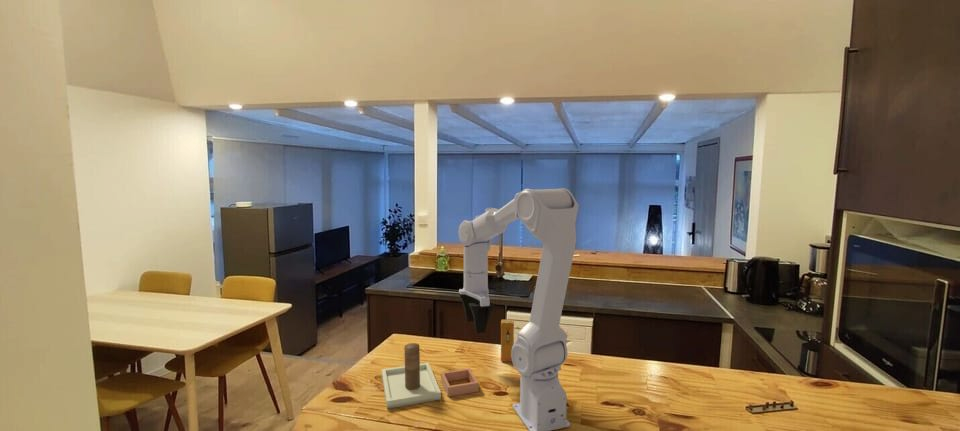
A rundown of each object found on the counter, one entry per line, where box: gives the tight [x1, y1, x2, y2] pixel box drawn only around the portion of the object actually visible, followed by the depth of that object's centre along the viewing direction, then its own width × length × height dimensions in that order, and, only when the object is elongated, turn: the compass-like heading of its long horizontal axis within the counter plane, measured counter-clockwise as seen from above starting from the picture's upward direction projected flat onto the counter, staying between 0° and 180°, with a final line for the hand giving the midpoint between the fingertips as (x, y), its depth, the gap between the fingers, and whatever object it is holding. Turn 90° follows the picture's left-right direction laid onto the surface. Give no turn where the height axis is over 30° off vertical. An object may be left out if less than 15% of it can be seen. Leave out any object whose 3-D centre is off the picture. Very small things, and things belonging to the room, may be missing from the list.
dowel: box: [403, 342, 421, 390], centre depth 88 cm, size 3×3×9 cm
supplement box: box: [500, 319, 515, 363], centre depth 102 cm, size 3×3×10 cm
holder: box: [440, 368, 480, 398], centre depth 89 cm, size 7×7×2 cm
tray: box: [381, 362, 442, 410], centre depth 89 cm, size 14×11×2 cm
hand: (475, 326), depth 97 cm, fingers open, 7 cm apart
